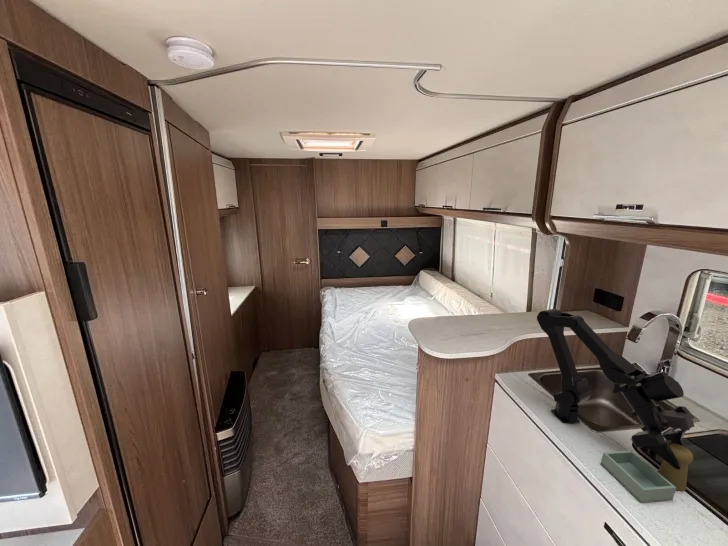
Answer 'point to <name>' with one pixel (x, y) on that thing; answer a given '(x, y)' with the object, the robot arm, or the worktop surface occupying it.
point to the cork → (677, 475)
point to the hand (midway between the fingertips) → (683, 465)
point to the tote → (638, 476)
